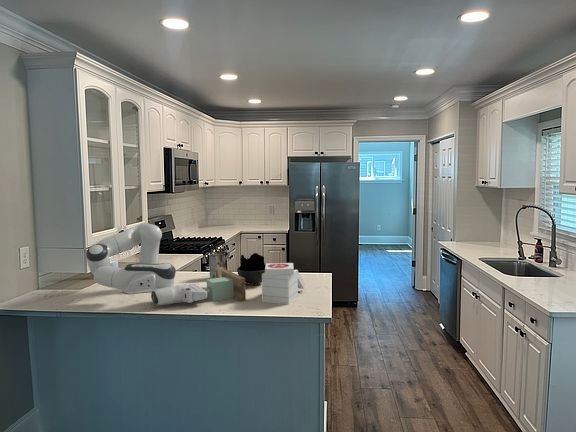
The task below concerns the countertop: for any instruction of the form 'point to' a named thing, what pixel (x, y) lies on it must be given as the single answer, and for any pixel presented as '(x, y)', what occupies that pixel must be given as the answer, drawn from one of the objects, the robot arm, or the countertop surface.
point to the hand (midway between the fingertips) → (209, 289)
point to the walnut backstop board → (236, 284)
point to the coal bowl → (252, 269)
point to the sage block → (220, 288)
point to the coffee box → (217, 265)
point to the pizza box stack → (281, 283)
